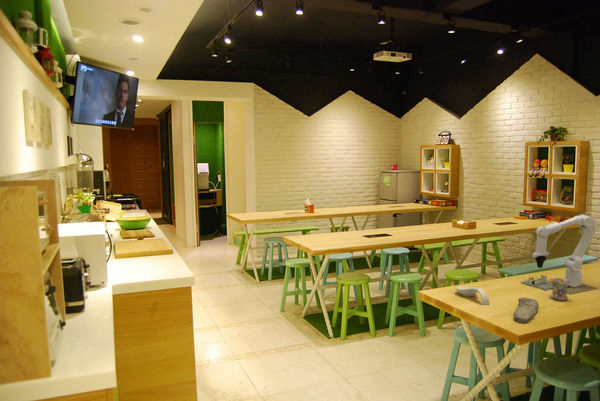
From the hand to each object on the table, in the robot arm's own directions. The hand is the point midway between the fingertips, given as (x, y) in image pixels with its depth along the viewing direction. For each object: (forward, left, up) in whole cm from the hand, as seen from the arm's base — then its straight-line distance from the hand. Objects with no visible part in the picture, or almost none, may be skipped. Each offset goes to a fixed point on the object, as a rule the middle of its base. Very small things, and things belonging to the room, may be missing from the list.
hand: (539, 267), depth 283 cm
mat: (+3, +4, -10) cm, 11 cm away
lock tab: (+4, -2, -9) cm, 10 cm away
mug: (+18, +23, -10) cm, 31 cm away
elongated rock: (+56, +29, -10) cm, 64 cm away
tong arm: (+3, +2, -9) cm, 9 cm away
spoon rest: (+61, +1, -10) cm, 62 cm away
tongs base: (+3, +1, -9) cm, 10 cm away
